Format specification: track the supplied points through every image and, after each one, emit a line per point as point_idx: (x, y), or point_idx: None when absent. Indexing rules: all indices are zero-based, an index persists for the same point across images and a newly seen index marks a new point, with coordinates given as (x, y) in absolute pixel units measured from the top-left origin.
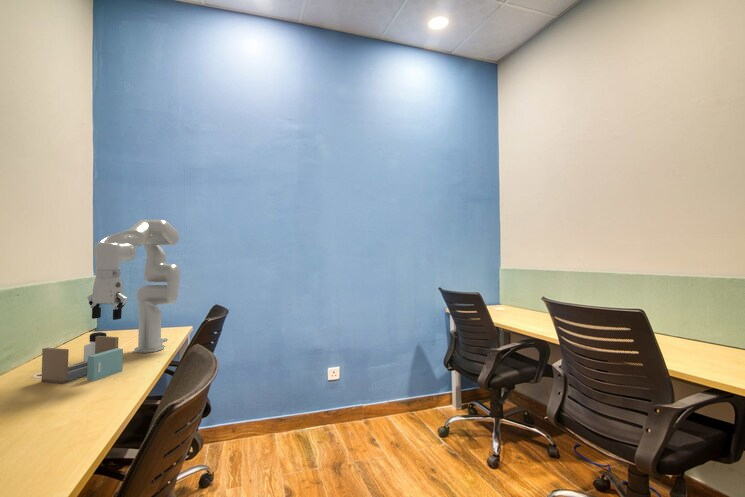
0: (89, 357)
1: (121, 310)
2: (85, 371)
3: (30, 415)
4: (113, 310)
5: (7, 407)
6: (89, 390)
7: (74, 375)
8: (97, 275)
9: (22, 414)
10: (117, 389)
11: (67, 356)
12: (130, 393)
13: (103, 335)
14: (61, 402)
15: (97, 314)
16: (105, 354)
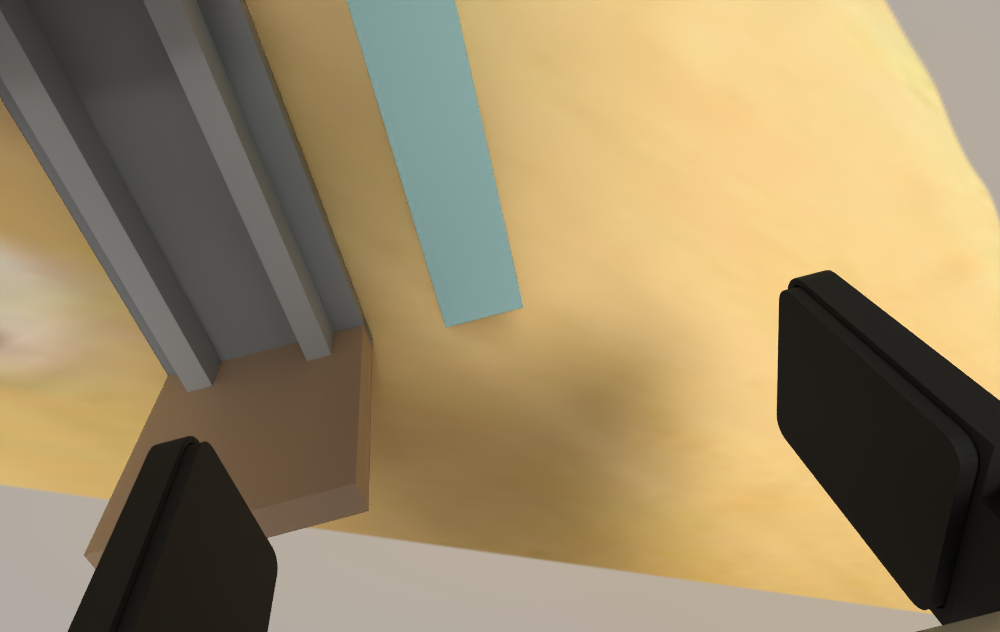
0: (463, 316)
1: (977, 387)
2: (271, 191)
3: (701, 532)
4: (935, 600)
5: (521, 554)
6: (648, 312)
7: (306, 272)
8: None
9: (662, 543)
10: (793, 226)
11: (361, 443)
12: (920, 225)
13: None
14: (680, 440)
15: (221, 565)
16: (496, 194)
